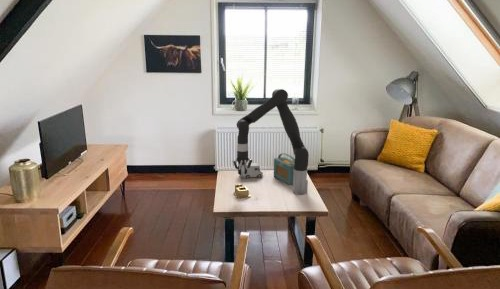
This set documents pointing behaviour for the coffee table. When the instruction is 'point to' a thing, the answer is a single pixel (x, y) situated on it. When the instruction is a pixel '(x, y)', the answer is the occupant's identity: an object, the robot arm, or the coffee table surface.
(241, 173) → the silver round-ended rod
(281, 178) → the radio
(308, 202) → the coffee table surface
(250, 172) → the toy vehicle
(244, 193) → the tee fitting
